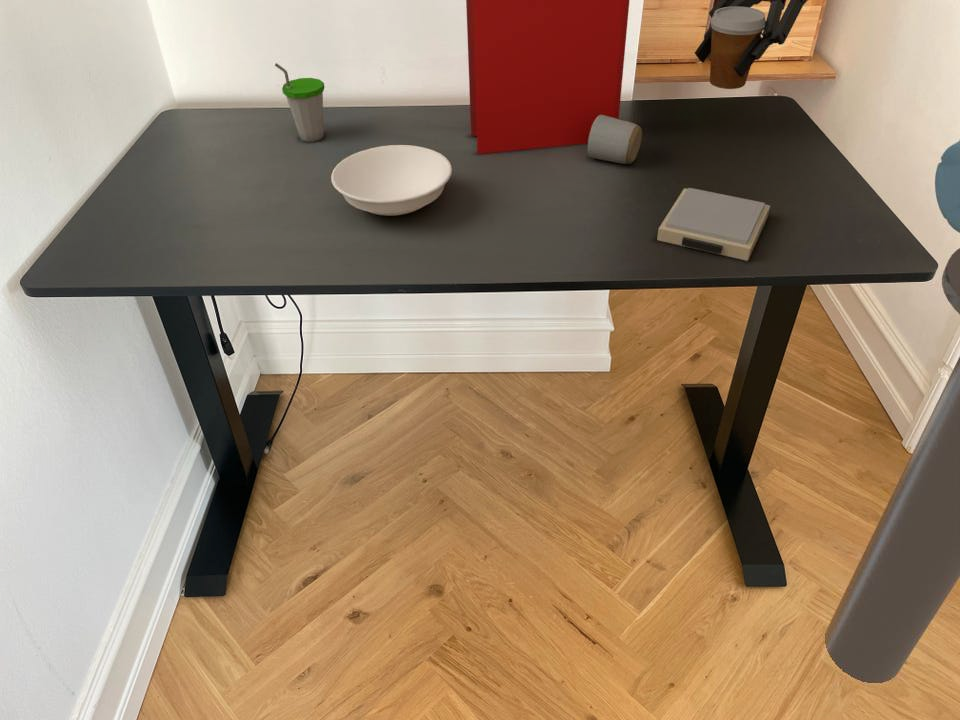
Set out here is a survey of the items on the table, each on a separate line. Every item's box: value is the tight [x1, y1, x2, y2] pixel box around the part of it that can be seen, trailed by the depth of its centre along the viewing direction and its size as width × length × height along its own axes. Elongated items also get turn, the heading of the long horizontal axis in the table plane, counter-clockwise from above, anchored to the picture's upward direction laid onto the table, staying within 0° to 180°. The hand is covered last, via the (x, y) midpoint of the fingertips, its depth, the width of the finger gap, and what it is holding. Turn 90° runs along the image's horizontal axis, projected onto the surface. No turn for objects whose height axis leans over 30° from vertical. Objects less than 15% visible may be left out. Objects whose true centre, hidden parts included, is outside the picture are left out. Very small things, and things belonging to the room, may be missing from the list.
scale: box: [656, 187, 771, 262], centre depth 123 cm, size 14×15×3 cm
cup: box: [274, 62, 325, 143], centre depth 149 cm, size 8×8×15 cm
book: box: [465, 0, 631, 155], centre depth 140 cm, size 27×8×32 cm, turn 99°
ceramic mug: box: [587, 115, 643, 165], centre depth 141 cm, size 11×8×8 cm
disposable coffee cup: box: [709, 6, 766, 90], centre depth 139 cm, size 10×10×12 cm
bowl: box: [330, 144, 453, 217], centre depth 130 cm, size 20×20×6 cm
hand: (718, 64), depth 139 cm, fingers closed on disposable coffee cup, 9 cm apart
